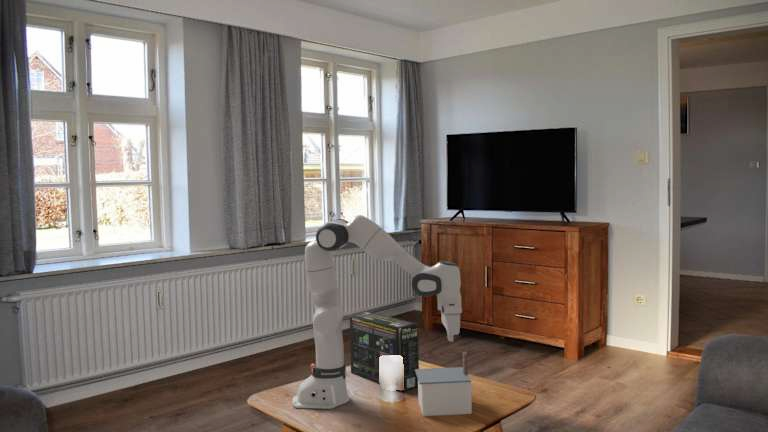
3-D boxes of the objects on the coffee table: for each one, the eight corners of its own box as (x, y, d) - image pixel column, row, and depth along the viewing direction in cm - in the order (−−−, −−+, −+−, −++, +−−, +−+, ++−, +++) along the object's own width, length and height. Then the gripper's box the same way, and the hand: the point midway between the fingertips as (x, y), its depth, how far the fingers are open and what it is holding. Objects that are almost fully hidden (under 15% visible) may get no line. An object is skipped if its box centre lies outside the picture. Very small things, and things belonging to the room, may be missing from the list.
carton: (423, 416, 227) (422, 384, 226) (418, 401, 242) (417, 371, 241) (471, 413, 228) (471, 381, 227) (464, 398, 243) (463, 368, 242)
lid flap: (419, 384, 226) (419, 361, 226) (415, 370, 242) (414, 349, 241) (471, 381, 227) (470, 358, 227) (463, 368, 243) (463, 346, 242)
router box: (421, 386, 259) (419, 323, 257) (401, 393, 252) (399, 328, 250) (368, 367, 286) (366, 310, 284) (349, 372, 279) (347, 314, 278)
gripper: (437, 299, 243) (438, 334, 244) (445, 310, 222) (446, 348, 223) (453, 298, 243) (454, 333, 244) (462, 309, 223) (463, 347, 224)
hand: (450, 340), depth 234 cm, fingers closed
